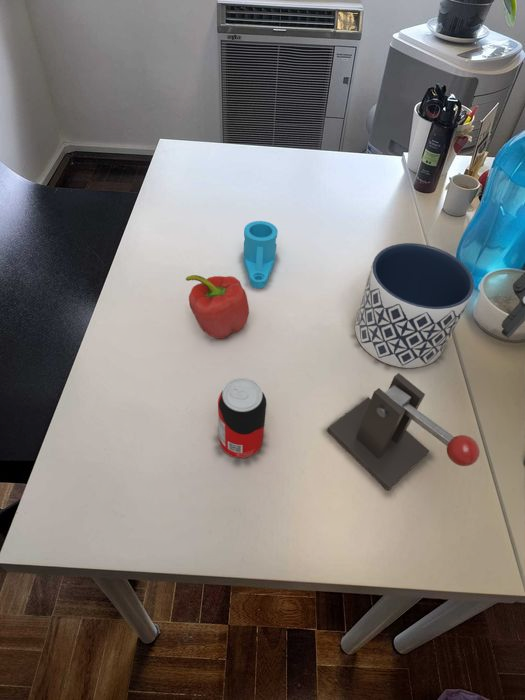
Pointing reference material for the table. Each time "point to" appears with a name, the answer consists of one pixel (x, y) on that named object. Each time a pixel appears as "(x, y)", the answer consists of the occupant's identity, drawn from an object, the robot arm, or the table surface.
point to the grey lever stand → (382, 434)
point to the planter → (412, 304)
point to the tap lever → (438, 431)
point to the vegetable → (219, 304)
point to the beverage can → (241, 417)
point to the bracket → (259, 251)
